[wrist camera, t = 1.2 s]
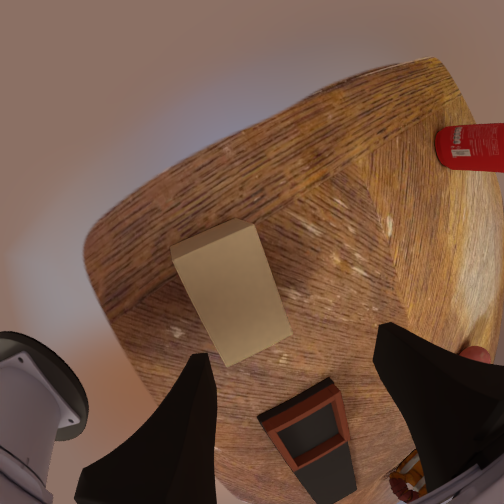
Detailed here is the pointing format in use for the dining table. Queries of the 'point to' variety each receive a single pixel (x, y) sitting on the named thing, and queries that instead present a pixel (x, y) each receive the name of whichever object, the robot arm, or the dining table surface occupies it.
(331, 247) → the dining table surface
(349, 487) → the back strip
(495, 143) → the beverage can
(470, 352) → the apple
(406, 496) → the mug
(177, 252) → the foam pad
